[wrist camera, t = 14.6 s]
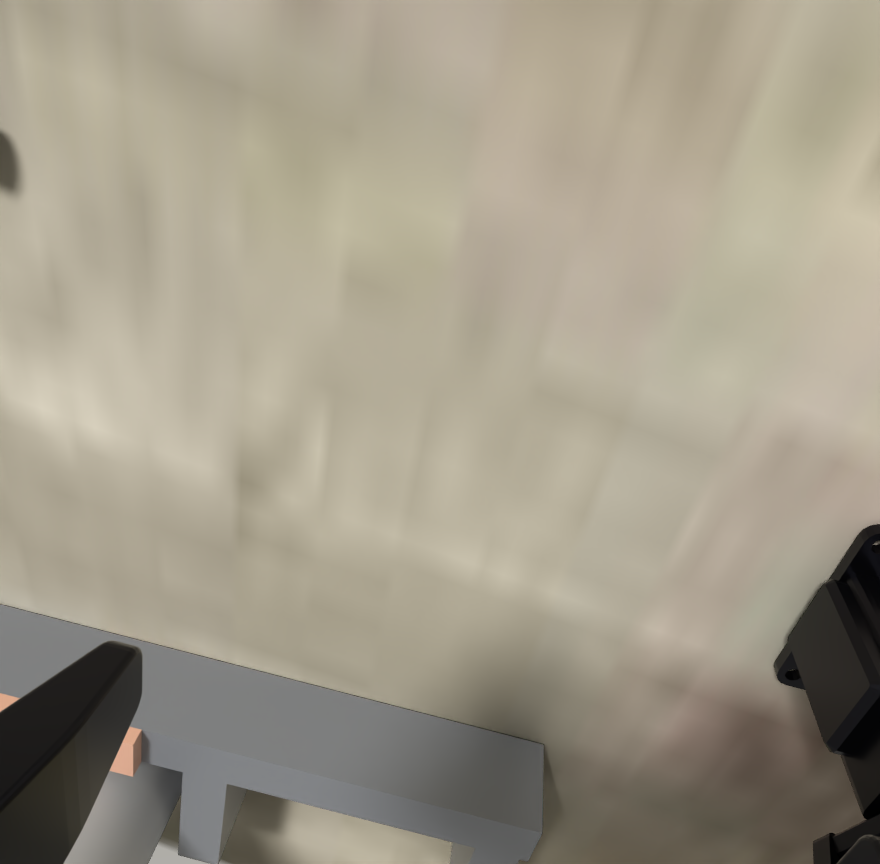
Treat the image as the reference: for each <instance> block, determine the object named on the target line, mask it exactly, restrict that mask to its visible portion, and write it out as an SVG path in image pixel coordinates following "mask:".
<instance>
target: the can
mask: <svg viewBox="0 0 880 864" xmlns="http://www.w3.org/2000/svg"><path fill="white" fill-rule="evenodd" d="M182 776H183V772H179V771H175V770H172V769H168V768H164V767H160V766H156V765H152V764H148V763H145V762H141V763H140V765H139V767H138V769H137V771H136V773H135V774H134V776H133V777H131V776H128V775H124V774H120V773H116V772H112V771H109V773H108V775H107V777H106V779H105V782H104V784H103V786H102V788H101V790H100V793H99V795H98V797H97V799H96V801H95V804H94V806H93V808H92V810H91V812H90V815H89V817H88V819H87V821H86V823H85V825H84V827H83V829H82V831H81V833H80V835H79V837H78V839H77V840H76V842H75V844H74V846H73V848H72V850H71V851H70V853H69V855H68V857H67V858H66V860H65V862H64V863H63V864H148V863H149V861H150V859H151V856H152V854H153V852H154V850H155V848H156V846H157V844H158V842H159V840H160V837H161V835H162V833H163V831H164V829H165V827H166V825H167V823H168V820H169V818H170V816H171V814H172V812H173V810H174V808H175V806H176V803H177V801H178V799H179V797H180V795H181V793H182Z"/></svg>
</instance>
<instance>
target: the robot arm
mask: <svg viewBox="0 0 880 864" xmlns="http://www.w3.org/2000/svg"><path fill="white" fill-rule="evenodd" d="M879 540H880V524H877V525H872V526H869V527H867V528H865V529H864V530H863V531H862V532H861V533H860V534H859V535H858V537H857V538H856V540H855V541H854V543H853V544H852V546H851V547H850V549H849V550H848V552H847V553H846V555H845V556H844V558H843V559H842V561H841V562H840V564H839V565H838V567H837V569H836V570H835V572H834V573H833V575H832V576H831V578H830V579H829V581H827V582H826V583H825V584H823V585H822V587H821V588H820V590H819V591H818V593H817V595H816V596H815V598H814V599H813V601H812V602H811V604H810V605H809V607H808V608H807V610H806V611H805V613H804V614H803V616H802V617H801V619H800V620H799V622H798V624H797V625H796V627H795V628H794V630H793V631H792V633H791V634H790V636H789V638H788V643H787V645H786V646H785V648H784V649H783V651H782V652H781V654H780V655H779V657H778V658H777V660H776V661H775V664H774V668H775V672H776V675H777V678H778V680H779V681H780V682H781V683H783V684H785V685H788V686H792V687H796V688H800V689H804V690H806V693H807V696H808V698H809V701H810V704H811V707H812V710H813V713H814V715H815V718H816V721H817V724H818V727H819V729H820V732H821V735H822V738H823V741H824V743H825V744H826V746H827V748H828V750H829V751H830V752H832V753H836V754H840V755H841V758H842V760H843V763H844V766H845V768H846V771H847V774H848V777H849V779H850V782H851V785H852V787H853V790H854V793H855V795H856V798H857V801H858V804H859V806H860V809H861V812H862V814H863V816H864V818H865V819H867V820H865V821H863V822H861V823H859V824H857V825H855V826H853V827H851V828H849V829H847V830H844V831H842V832H840V833H838V834H836V835H835V834H834V833H829V834H827V835H825V836H823V837H821V838H819V839H817V840H815V841H814V842H813V856H814V864H880V544H878V545H872V544H874V543H875V542H876V541H879ZM792 669H795V670H792ZM788 670H792V671H788ZM142 671H143V656H142V651H141V649H140V648H139V647H137V646H134V645H130V644H126V643H122V642H118V641H113V640H110V641H106V642H104V643H102V644H100V645H99V646H97V647H96V648H94V649H93V650H91V651H90V652H88V653H87V654H85V655H84V656H82V657H81V658H79V659H78V660H76V661H75V662H73V663H72V664H70V665H69V666H67V667H66V668H65V669H63V670H62V671H60V672H59V673H57V674H56V675H54V676H53V677H51V678H50V679H48V680H47V681H45V682H44V683H42V684H41V685H39V686H38V687H36V688H35V689H33V690H32V691H30V692H29V693H27V694H26V695H24V696H23V697H21V698H20V699H18V700H17V701H15V702H14V703H12V704H11V705H10V706H8V707H7V708H5V709H4V710H2V711H1V712H0V864H63V863H64V862H65V860H66V858H67V857H68V855H69V853H70V851H71V850H72V848H73V846H74V844H75V842H76V840H77V839H78V837H79V835H80V833H81V831H82V829H83V827H84V825H85V823H86V821H87V819H88V817H89V815H90V812H91V810H92V808H93V806H94V804H95V801H96V799H97V797H98V795H99V793H100V790H101V788H102V786H103V784H104V782H105V779H106V777H107V775H108V773H109V771H110V769H111V766H112V764H113V762H114V760H115V758H116V755H117V753H118V751H119V749H120V747H121V744H122V742H123V740H124V738H125V736H126V733H127V731H128V729H129V727H130V725H131V722H132V720H133V718H134V716H135V714H136V711H137V709H138V706H139V703H140V700H141V696H142Z"/></svg>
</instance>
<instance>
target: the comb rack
mask: <svg viewBox="0 0 880 864" xmlns="http://www.w3.org/2000/svg"><path fill="white" fill-rule="evenodd" d="M110 640H113V641H118V642H122V643H126V644H130V645H134V646H137V647H139V648H140V649H141V651H142V656H143V671H142V696H141V700H140V703H139V706H138V709H137V711H136V714H135V716H134V718H133V720H132V722H131V725H130V727H129V729H128V731H127V733H126V736H125V738H124V740H123V742H122V744H121V747H120V749H119V751H118V753H117V755H116V758H115V760H114V762H113V764H112V766H111V769H110V771H112V772H116V773H120V774H124V775H128V776H131V777H133V776H134V774H135V773H136V771H137V769H138V767H139V765H140V763H141V762H145V763H148V764H152V765H156V766H160V767H164V768H168V769H172V770H175V771H179V772H183V776H182V794H181V812H180V830H179V848H178V855H180V856H184V857H188V858H192V859H195V860H199V861H203V862H207V863H211V864H219V861H220V859H221V856H222V854H223V851H224V848H225V846H226V843H227V841H228V838H229V836H230V833H231V830H232V828H233V825H234V823H235V820H236V817H237V815H238V812H239V810H240V807H241V805H242V802H243V799H244V797H245V794H246V792H247V789H249V790H253V791H257V792H260V793H264V794H268V795H272V796H276V797H280V798H284V799H287V800H291V801H295V802H299V803H303V804H307V805H311V806H315V807H318V808H322V809H326V810H330V811H334V812H338V813H342V814H345V815H349V816H353V817H357V818H361V819H365V820H369V821H372V822H376V823H380V824H384V825H388V826H392V827H396V828H400V829H403V830H407V831H411V832H415V833H419V834H423V835H427V836H430V837H434V838H438V839H442V840H446V841H450V842H453V843H452V851H451V859H450V864H518V862H519V860H523V861H527V862H528V860H529V858H530V857H531V855H532V853H533V851H534V849H535V847H536V845H537V843H538V841H539V839H540V837H541V835H542V821H543V763H544V745H543V744H539V743H536V742H532V741H528V740H524V739H520V738H516V737H512V736H508V735H505V734H501V733H497V732H493V731H489V730H485V729H481V728H477V727H474V726H470V725H466V724H462V723H458V722H454V721H450V720H446V719H443V718H439V717H435V716H431V715H427V714H423V713H419V712H415V711H412V710H408V709H404V708H400V707H396V706H392V705H388V704H384V703H381V702H377V701H373V700H369V699H365V698H361V697H357V696H353V695H350V694H346V693H342V692H338V691H334V690H330V689H326V688H322V687H319V686H315V685H311V684H307V683H303V682H299V681H295V680H291V679H288V678H284V677H280V676H276V675H272V674H268V673H264V672H260V671H257V670H253V669H249V668H245V667H241V666H237V665H233V664H229V663H226V662H222V661H218V660H214V659H210V658H206V657H202V656H198V655H195V654H191V653H187V652H183V651H179V650H175V649H171V648H167V647H164V646H160V645H156V644H152V643H148V642H144V641H140V640H136V639H133V638H129V637H125V636H121V635H117V634H113V633H109V632H106V631H102V630H98V629H94V628H90V627H86V626H82V625H78V624H75V623H71V622H67V621H63V620H59V619H55V618H51V617H47V616H44V615H40V614H36V613H32V612H28V611H24V610H20V609H16V608H13V607H9V606H5V605H1V604H0V712H1V711H2V710H4V709H5V708H7V707H8V706H10V705H11V704H12V703H14V702H15V701H17V700H18V699H20V698H21V697H23V696H24V695H26V694H27V693H29V692H30V691H32V690H33V689H35V688H36V687H38V686H39V685H41V684H42V683H44V682H45V681H47V680H48V679H50V678H51V677H53V676H54V675H56V674H57V673H59V672H60V671H62V670H63V669H65V668H66V667H67V666H69V665H70V664H72V663H73V662H75V661H76V660H78V659H79V658H81V657H82V656H84V655H85V654H87V653H88V652H90V651H91V650H93V649H94V648H96V647H97V646H99V645H100V644H102V643H104V642H106V641H110Z"/></svg>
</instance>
